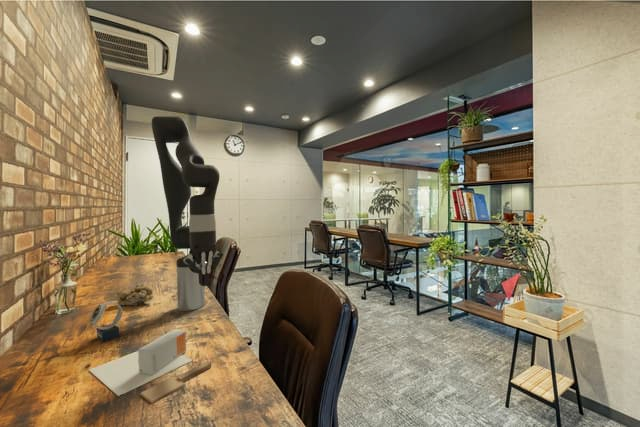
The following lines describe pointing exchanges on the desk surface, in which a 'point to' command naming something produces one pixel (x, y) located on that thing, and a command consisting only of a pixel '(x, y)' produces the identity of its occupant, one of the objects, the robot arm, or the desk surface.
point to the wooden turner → (172, 384)
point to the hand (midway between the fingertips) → (204, 285)
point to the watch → (109, 330)
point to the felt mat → (130, 372)
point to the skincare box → (161, 351)
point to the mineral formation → (134, 295)
